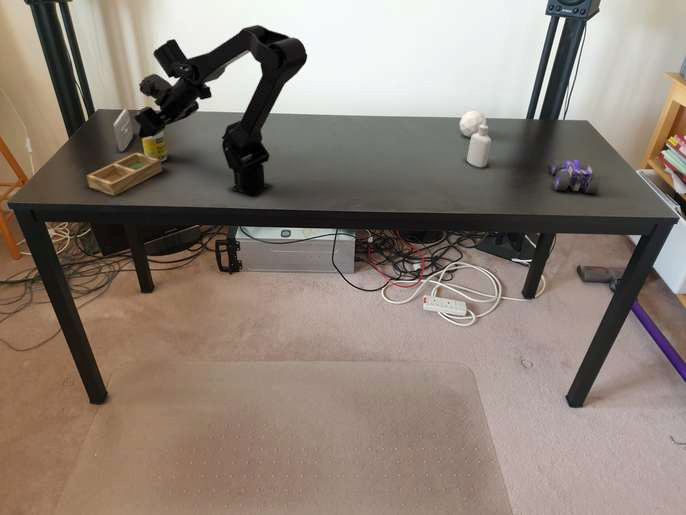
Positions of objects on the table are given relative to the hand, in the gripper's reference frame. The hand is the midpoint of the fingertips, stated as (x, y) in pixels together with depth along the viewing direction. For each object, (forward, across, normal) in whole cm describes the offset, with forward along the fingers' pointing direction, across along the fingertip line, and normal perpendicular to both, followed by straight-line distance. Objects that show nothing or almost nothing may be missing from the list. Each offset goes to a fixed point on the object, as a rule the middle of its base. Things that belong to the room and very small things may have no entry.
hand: (151, 130), depth 133 cm
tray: (+5, +12, +6) cm, 15 cm away
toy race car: (-67, -33, +78) cm, 108 cm away
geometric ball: (-47, -52, +58) cm, 91 cm away
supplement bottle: (+6, 0, +6) cm, 8 cm away
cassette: (+15, -5, -4) cm, 17 cm away
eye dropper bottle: (-50, -33, +61) cm, 86 cm away
